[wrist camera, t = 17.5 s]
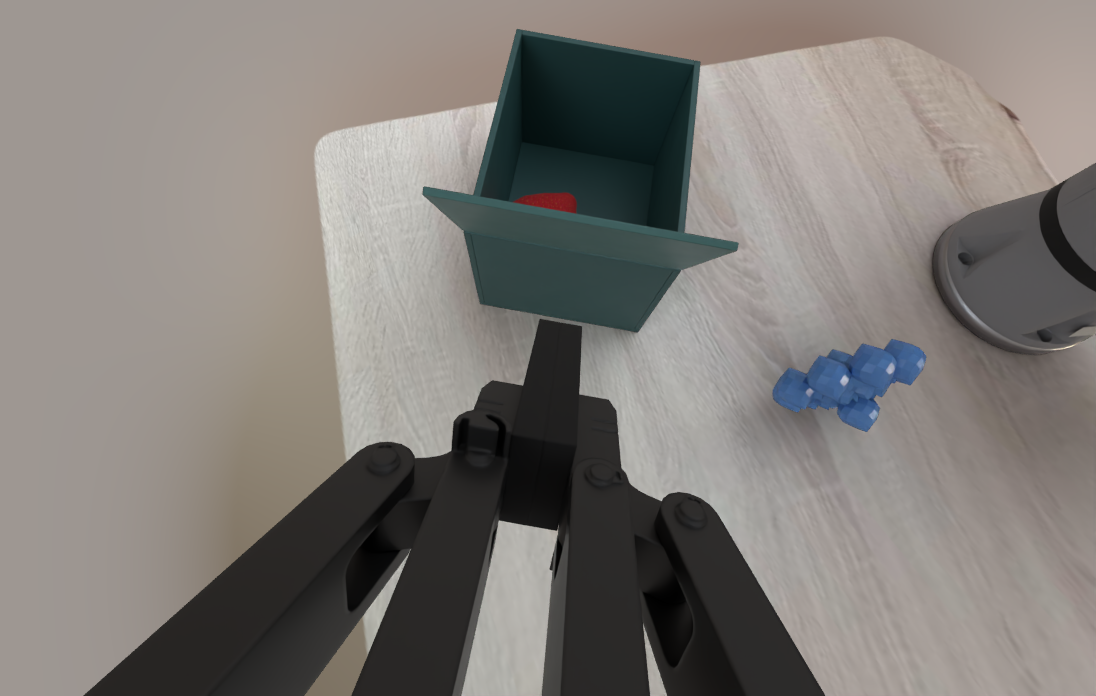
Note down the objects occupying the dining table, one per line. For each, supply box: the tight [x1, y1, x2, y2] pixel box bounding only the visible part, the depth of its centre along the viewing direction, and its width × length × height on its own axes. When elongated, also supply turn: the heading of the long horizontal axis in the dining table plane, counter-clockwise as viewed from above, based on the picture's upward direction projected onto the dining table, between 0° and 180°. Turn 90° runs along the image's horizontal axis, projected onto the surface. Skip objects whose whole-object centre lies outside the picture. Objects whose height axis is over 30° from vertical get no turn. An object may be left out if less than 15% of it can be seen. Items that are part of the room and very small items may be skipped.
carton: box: [464, 29, 700, 332], centre depth 40 cm, size 19×15×12 cm
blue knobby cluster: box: [773, 339, 926, 432], centre depth 37 cm, size 12×7×12 cm, turn 102°
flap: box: [423, 187, 738, 270], centre depth 26 cm, size 9×15×1 cm
